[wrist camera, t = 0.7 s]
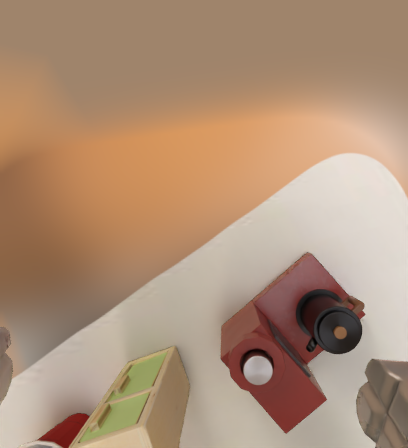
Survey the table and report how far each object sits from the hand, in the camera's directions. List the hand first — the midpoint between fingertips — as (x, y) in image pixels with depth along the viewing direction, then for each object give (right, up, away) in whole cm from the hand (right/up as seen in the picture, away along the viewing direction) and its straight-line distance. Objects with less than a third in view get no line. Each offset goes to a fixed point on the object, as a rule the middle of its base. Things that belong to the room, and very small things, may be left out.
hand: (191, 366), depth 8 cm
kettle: (+16, -9, +40) cm, 44 cm away
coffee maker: (+9, -14, +43) cm, 46 cm away
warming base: (+15, -8, +43) cm, 46 cm away
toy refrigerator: (-6, -19, +44) cm, 49 cm away
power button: (+6, -12, +30) cm, 33 cm away
